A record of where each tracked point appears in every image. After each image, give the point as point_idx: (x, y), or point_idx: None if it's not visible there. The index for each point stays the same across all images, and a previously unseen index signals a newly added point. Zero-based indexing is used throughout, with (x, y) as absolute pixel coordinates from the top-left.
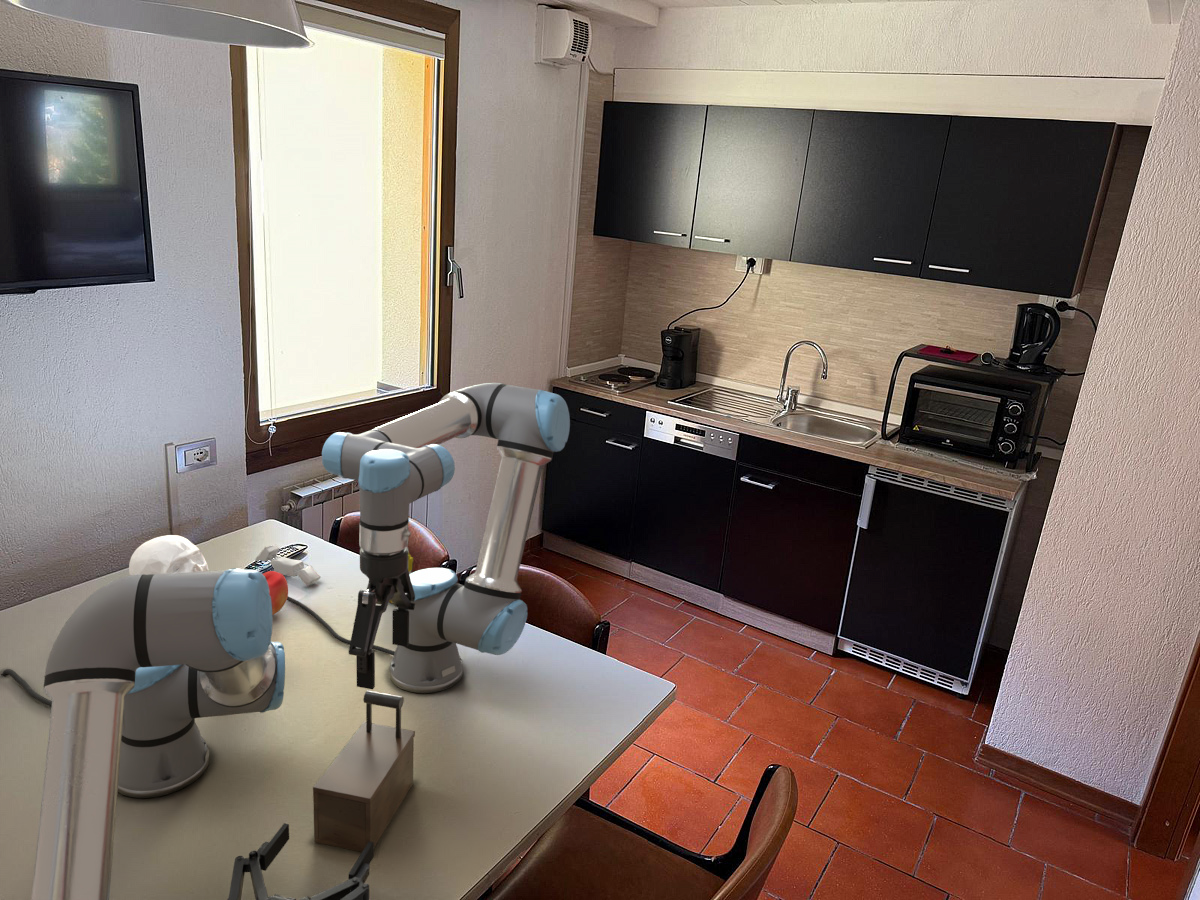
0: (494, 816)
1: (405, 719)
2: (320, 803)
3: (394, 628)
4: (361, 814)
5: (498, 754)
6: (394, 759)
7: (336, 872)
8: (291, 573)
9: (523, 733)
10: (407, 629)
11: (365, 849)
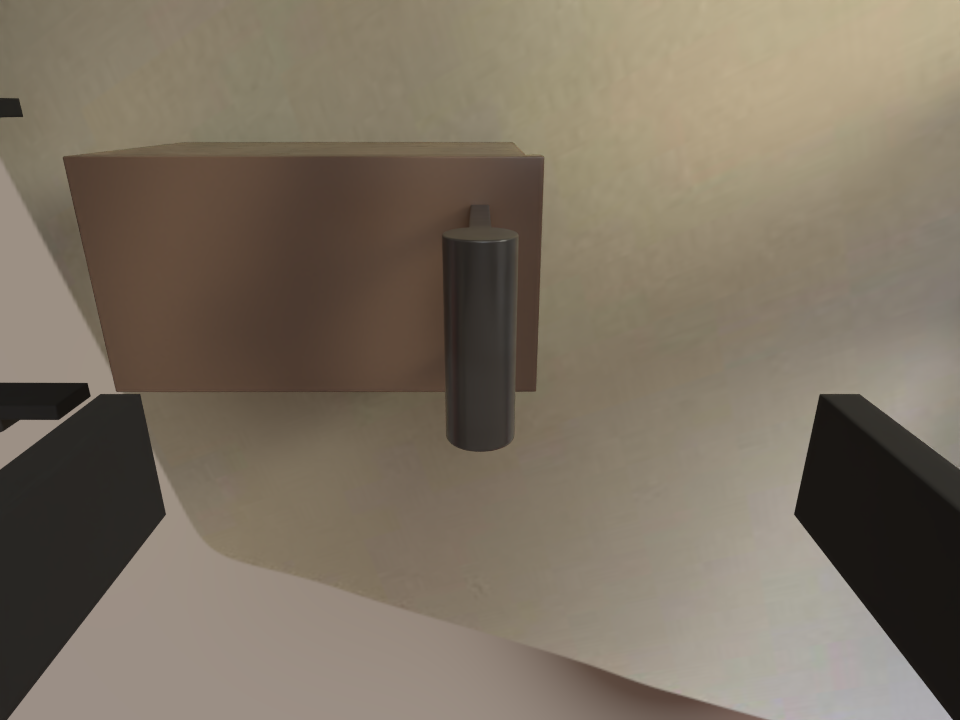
0: (449, 547)
1: (838, 159)
2: None
3: (921, 507)
4: None
5: (693, 494)
6: (344, 385)
7: None
8: None
9: (802, 529)
10: (898, 638)
11: (22, 410)
